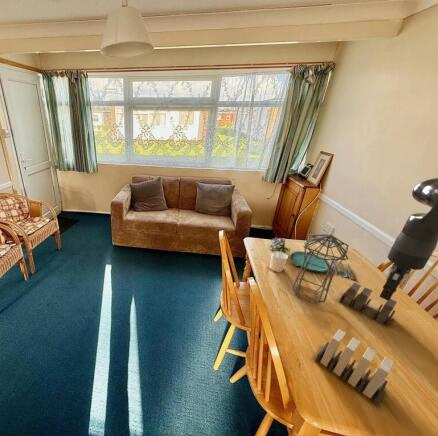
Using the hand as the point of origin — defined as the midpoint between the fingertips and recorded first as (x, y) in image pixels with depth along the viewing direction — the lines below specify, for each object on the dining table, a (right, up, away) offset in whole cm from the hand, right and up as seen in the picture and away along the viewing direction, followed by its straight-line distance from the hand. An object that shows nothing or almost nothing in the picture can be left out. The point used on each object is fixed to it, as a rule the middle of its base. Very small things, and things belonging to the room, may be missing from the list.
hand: (387, 292), depth 72 cm
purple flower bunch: (+9, +2, +77) cm, 77 cm away
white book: (-9, -29, +8) cm, 32 cm away
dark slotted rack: (-8, -31, +6) cm, 33 cm away
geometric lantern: (+2, -15, +40) cm, 43 cm away
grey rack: (+23, -19, +32) cm, 43 cm away
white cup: (-2, -6, +60) cm, 60 cm away
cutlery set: (+25, -5, +62) cm, 67 cm away
